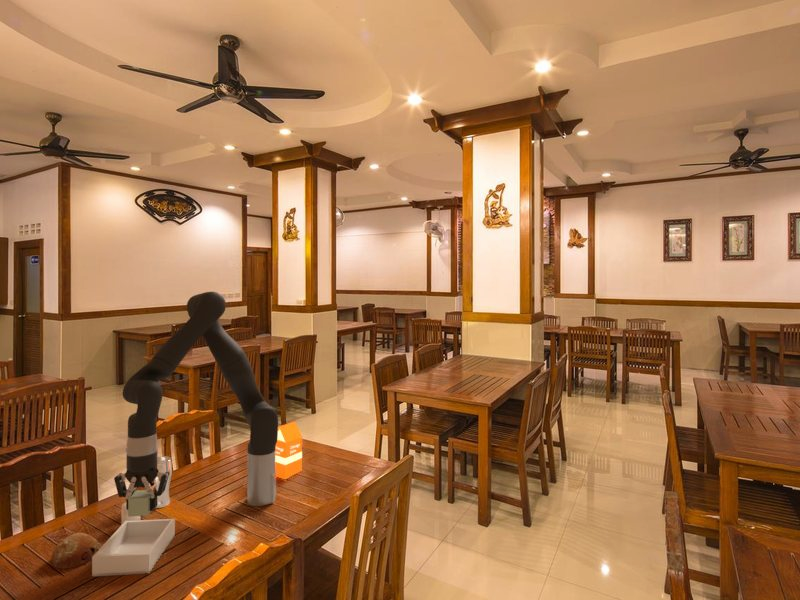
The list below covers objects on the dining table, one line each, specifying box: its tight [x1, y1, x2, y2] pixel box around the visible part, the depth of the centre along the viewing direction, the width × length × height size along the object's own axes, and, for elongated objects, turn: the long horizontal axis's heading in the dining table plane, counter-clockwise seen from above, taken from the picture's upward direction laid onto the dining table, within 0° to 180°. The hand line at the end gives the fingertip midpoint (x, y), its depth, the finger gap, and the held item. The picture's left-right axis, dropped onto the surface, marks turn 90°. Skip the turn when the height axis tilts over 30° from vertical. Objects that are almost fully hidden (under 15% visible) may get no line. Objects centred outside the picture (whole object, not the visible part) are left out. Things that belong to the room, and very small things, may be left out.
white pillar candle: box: [120, 501, 142, 526], centre depth 138 cm, size 5×5×7 cm
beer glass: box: [155, 455, 173, 509], centre depth 152 cm, size 7×7×15 cm
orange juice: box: [275, 421, 303, 480], centre depth 177 cm, size 8×9×20 cm
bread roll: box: [50, 532, 101, 569], centre depth 122 cm, size 10×10×8 cm
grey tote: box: [91, 518, 176, 577], centre depth 124 cm, size 14×18×5 cm
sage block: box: [128, 489, 152, 517], centre depth 127 cm, size 5×5×5 cm
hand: (141, 509), depth 127 cm, fingers closed on sage block, 5 cm apart
